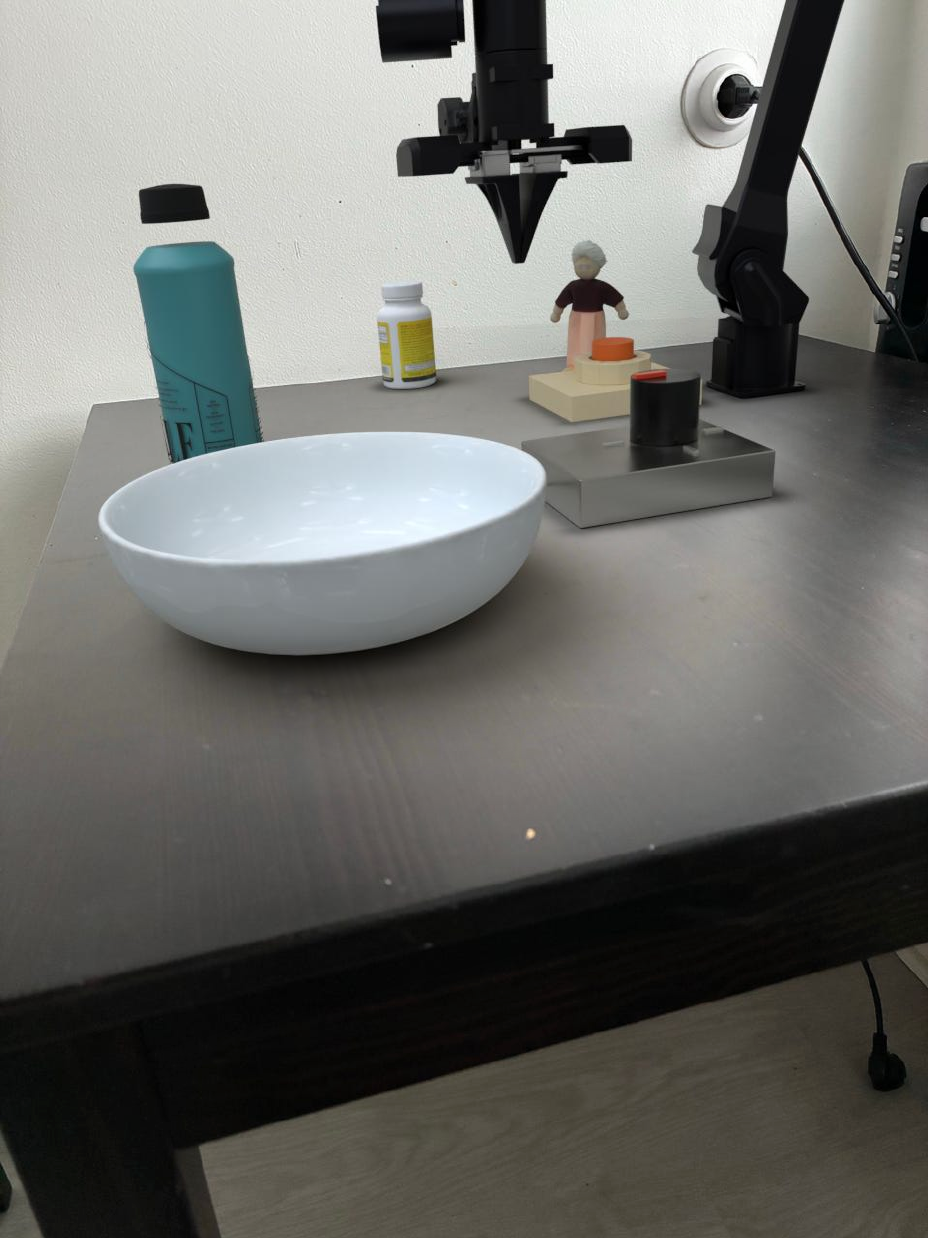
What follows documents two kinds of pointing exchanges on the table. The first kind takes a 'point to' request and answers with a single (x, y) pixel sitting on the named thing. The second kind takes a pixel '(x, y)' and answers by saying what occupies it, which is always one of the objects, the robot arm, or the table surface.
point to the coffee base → (590, 387)
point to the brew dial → (664, 406)
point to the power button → (613, 349)
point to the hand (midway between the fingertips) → (518, 263)
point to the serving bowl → (326, 538)
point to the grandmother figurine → (587, 301)
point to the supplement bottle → (406, 337)
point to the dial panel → (649, 473)
